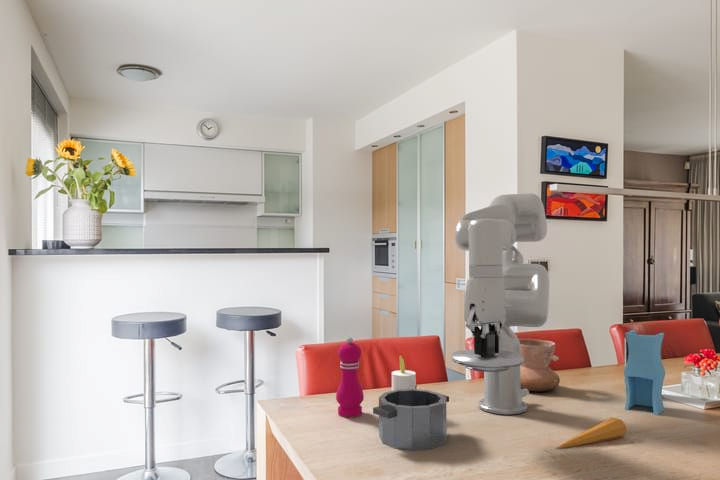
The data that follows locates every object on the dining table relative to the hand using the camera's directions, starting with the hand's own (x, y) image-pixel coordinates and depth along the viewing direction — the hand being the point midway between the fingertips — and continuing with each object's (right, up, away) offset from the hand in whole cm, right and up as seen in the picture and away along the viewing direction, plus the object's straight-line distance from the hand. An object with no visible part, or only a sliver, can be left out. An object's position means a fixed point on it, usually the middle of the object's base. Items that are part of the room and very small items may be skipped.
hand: (486, 352), depth 121 cm
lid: (0, -3, 0) cm, 3 cm away
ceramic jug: (+24, -20, +42) cm, 52 cm away
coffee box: (+53, -19, +33) cm, 66 cm away
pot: (-17, -19, 0) cm, 26 cm away
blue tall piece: (+47, -19, +20) cm, 55 cm away
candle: (-17, -20, +18) cm, 32 cm away
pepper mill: (-31, -20, +18) cm, 41 cm away
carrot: (+22, -19, -3) cm, 29 cm away
